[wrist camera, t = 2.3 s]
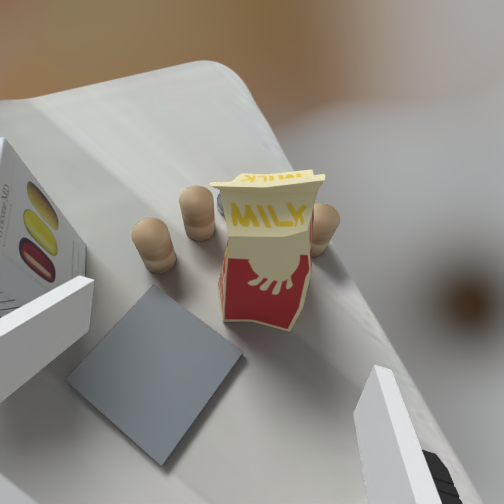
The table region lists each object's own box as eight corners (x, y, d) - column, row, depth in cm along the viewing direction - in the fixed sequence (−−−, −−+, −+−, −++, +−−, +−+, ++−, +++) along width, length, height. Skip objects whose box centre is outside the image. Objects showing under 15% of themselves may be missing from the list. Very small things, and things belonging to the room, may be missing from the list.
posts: (144, 275, 39) (131, 251, 34) (143, 214, 43) (131, 184, 37) (328, 255, 42) (343, 230, 36) (313, 199, 45) (325, 169, 40)
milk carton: (300, 257, 41) (356, 129, 24) (293, 333, 37) (355, 247, 19) (225, 245, 42) (224, 108, 24) (210, 320, 37) (194, 222, 20)
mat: (69, 381, 34) (64, 379, 33) (155, 288, 39) (153, 284, 37) (163, 464, 31) (161, 466, 30) (242, 354, 36) (243, 351, 35)
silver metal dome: (212, 213, 44) (212, 206, 42) (223, 191, 45) (223, 184, 44) (239, 222, 43) (240, 215, 42) (249, 200, 45) (250, 193, 44)
